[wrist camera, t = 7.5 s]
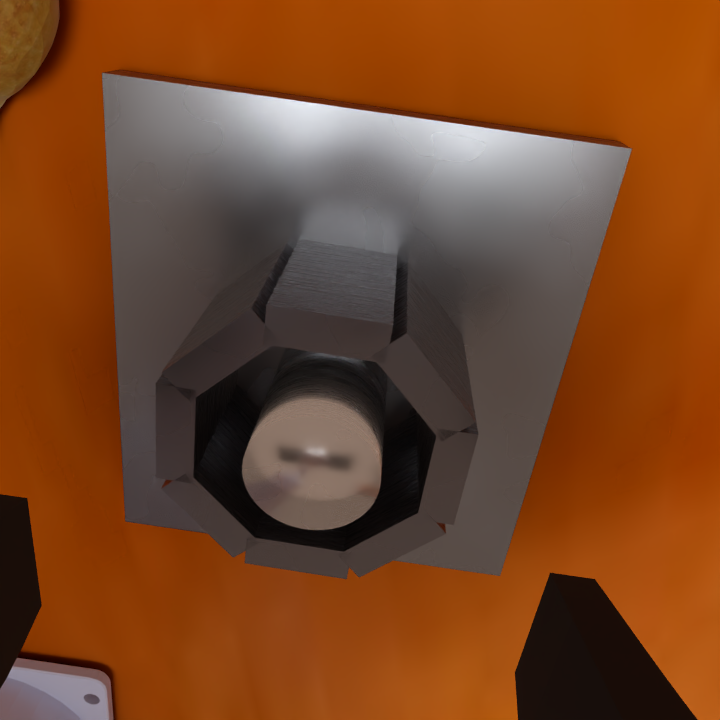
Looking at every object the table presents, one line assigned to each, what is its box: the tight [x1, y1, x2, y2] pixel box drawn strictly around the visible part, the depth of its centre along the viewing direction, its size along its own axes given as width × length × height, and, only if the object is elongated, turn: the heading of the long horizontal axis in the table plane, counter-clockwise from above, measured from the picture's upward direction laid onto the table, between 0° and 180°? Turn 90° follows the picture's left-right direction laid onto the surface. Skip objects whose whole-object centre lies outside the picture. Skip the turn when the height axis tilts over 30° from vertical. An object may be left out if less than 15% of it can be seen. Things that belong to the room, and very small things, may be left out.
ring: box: [156, 239, 478, 579], centre depth 13 cm, size 6×6×4 cm
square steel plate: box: [102, 70, 632, 576], centre depth 13 cm, size 11×10×5 cm
